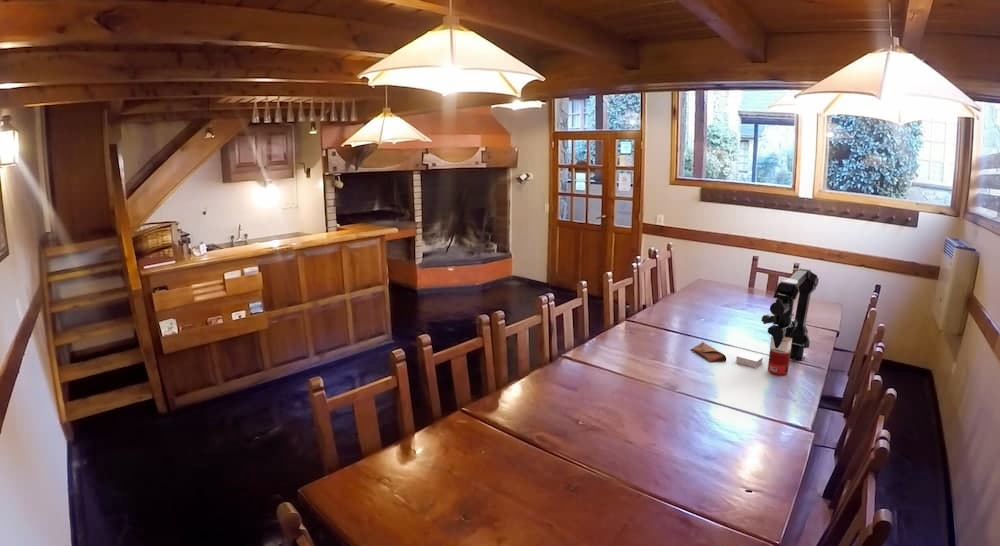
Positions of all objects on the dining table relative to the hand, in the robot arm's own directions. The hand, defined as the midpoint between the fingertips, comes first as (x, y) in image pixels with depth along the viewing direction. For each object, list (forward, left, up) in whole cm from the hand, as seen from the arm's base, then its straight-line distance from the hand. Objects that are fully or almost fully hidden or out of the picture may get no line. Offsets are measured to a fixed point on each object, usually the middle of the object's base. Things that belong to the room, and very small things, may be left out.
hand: (780, 345), depth 255 cm
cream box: (0, 0, -2) cm, 2 cm away
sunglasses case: (+3, -31, -13) cm, 34 cm away
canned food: (0, 0, -13) cm, 13 cm away
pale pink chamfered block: (-2, -13, -12) cm, 18 cm away
